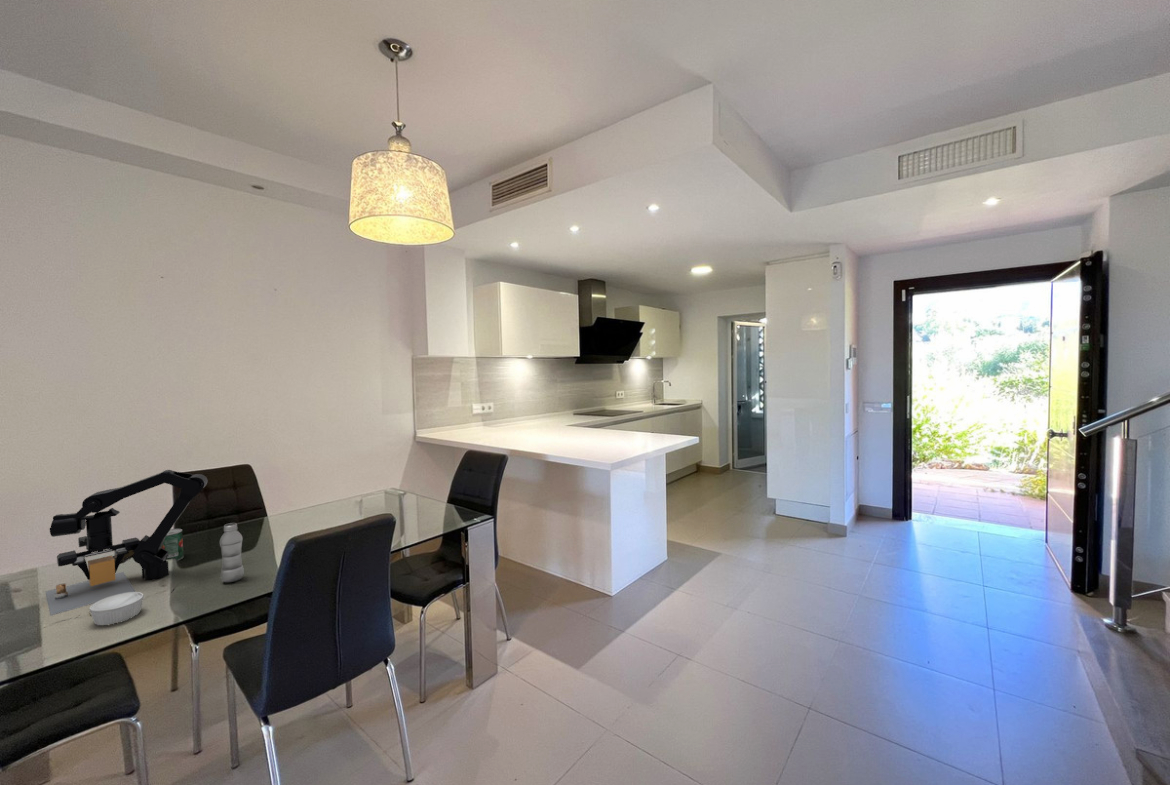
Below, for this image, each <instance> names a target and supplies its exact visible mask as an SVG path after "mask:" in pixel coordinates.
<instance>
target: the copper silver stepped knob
mask: <svg viewBox="0 0 1170 785" xmlns="http://www.w3.org/2000/svg"><path fill="white" fill-rule="evenodd" d="M66 586H67V584H66V583H59V584H57V585H56V586H55V589H56V593H55V599H62V598H65V597H67V596H68V590H66Z"/></svg>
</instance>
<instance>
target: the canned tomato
mask: <svg viewBox="0 0 1170 785" xmlns="http://www.w3.org/2000/svg"><path fill="white" fill-rule="evenodd" d="M183 538H184V537H183V529H181V528H171V529H170V531H169V532H168V534H167V535H166V537H165V540H164V543H163V545H162V547H161V548H163V549H165V550H166V551H168V552H169V554H168V557H167V558H166V559H165V560H166V561H167V560H173V559H175V560H176V561H180V560H183V558H185V557H184V546H183V544H184V540H183Z"/></svg>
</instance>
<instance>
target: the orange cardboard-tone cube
mask: <svg viewBox="0 0 1170 785" xmlns="http://www.w3.org/2000/svg"><path fill="white" fill-rule="evenodd" d="M113 556H114V555H108V556H104V557H98V558H95V559H90V560H87V567H88V571H89V574H90V580H88V581H89V583H90V585H91V586H94V585H98V584H102V583H105V582H109V581H113V580H116V579H115V574H116V573H115V561H114V558H113Z"/></svg>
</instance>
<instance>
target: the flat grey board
mask: <svg viewBox="0 0 1170 785" xmlns="http://www.w3.org/2000/svg"><path fill="white" fill-rule="evenodd" d="M115 579H116V580H113V581H109V582H105V583H102V584H98V585H94V586H91V585H90V583H89V580H85V581H82V582H78V583H73V584H70V585H69V584H68V585H66V590H68V596H67V597H65V598H62V599H55V593H56V588H54V589H50V590H46V591H45V592H44V593H45V597H46V601H47V606H48V612H49V615H50V616H55V615H58V614H61V613H65V612H69V611H72V610H75V609H80V608H83V607H87V606H89V605H90V606H91V605H93V604H94V603H96V602H98V601H100V600H102V599H105V598H107V597H110V596H114V595H118V594H122V593H128V592H137V591H136V590H135V588H134V586H133V585H132V582H130V580H129V578H128V577H127V576H126V574H125V572H124V571H121V572H116V573H115Z"/></svg>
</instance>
